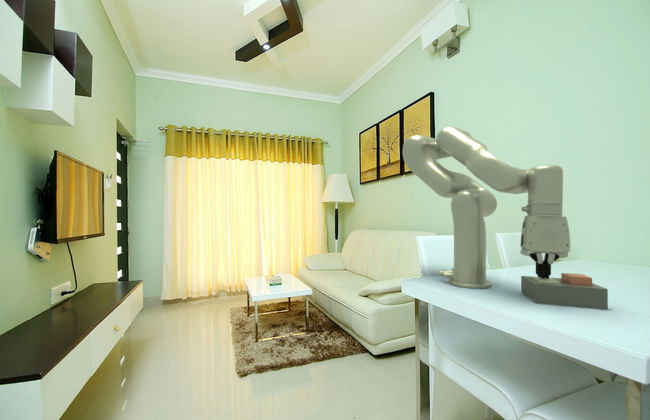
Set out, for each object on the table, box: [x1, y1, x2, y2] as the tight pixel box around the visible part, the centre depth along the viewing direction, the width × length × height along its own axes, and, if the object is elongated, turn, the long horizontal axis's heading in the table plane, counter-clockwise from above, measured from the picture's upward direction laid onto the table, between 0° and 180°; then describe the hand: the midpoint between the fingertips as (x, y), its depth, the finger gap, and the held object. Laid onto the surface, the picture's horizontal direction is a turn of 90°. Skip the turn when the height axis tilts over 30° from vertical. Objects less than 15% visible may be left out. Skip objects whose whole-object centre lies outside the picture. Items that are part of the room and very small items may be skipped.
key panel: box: [520, 275, 609, 310], centre depth 75 cm, size 15×10×5 cm, turn 73°
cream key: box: [532, 276, 559, 284], centre depth 77 cm, size 5×5×3 cm
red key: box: [560, 272, 593, 286], centre depth 74 cm, size 5×5×3 cm
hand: (543, 277), depth 77 cm, fingers closed
